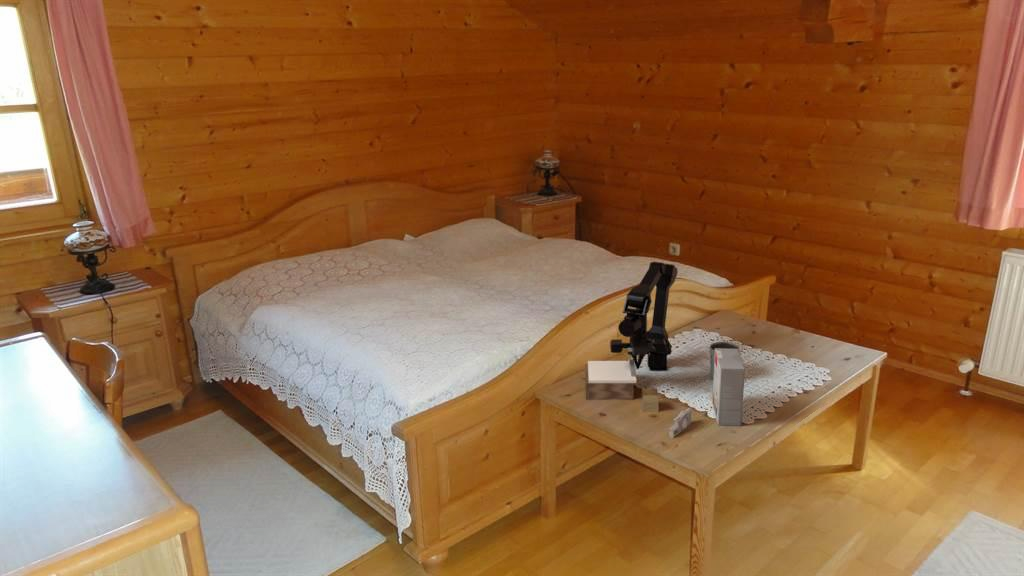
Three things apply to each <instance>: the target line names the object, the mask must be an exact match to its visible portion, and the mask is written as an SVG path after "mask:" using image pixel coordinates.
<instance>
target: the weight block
mask: <svg viewBox="0 0 1024 576" xmlns="http://www.w3.org/2000/svg"><path fill="white" fill-rule="evenodd" d="M659 401H660V395H659V390H658V388H644V387H643V388H641V408H642V412H643V413H651V412H652V413H656V412H657V413H658V412H659V408H660V407H659V406H660V405H659V404H660V403H659Z"/></svg>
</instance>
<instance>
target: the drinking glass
mask: <svg viewBox="0 0 1024 576" xmlns="http://www.w3.org/2000/svg"><path fill="white" fill-rule="evenodd" d="M715 348H726V349H738V350H739V351H740V347H739V345H737V344H735V343H731V342H728V341H726V342H725V341H717V342H714V343H711V344H710V345H709V354H710V355H709V359H710V364H709V365H710V368H709V369H710V370H709V371H710V372H709V373H710V379H711V380H712V381H714V360H715Z"/></svg>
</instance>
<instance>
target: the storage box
mask: <svg viewBox="0 0 1024 576" xmlns="http://www.w3.org/2000/svg"><path fill="white" fill-rule="evenodd" d="M584 366H585V369H584V373H585V375H584V378H585V379H584V380H585V399H586V400H610V401H611V400H612V401H613V400H617V401H618V400H620V401H621V400H630V401H631V400H632V401H633V400H634V384H635V383H589V377H588V363H585V364H584Z"/></svg>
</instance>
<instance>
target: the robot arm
mask: <svg viewBox="0 0 1024 576" xmlns="http://www.w3.org/2000/svg"><path fill="white" fill-rule="evenodd" d="M648 265H649V267H648V269H647V271H646V273H645V274H644V276H643V278H642V279H641V280H640V283H639V284H638V285H636V286H634V287H632V288H631V289H630V291H629V292H628V293H627V294H626V297H625V299H624V300H625V301H624V303H623V309H622V314H626V315H624V316H623V319H622V320H621V321H620V322H619V324H618V326H617V327H618V332H619V333H620V334H621V335H622V336H623V337H625V338H629V342H623V340H622V339H621V338H620V339H619V338H617V339H611V340H610V341H609V347H610V353H612V354H619V353H622V352H623V349H626V352H627V355H628V356H629V355H630V356H631V357H632V358H631V359H633V360H634V364H635V369H636V370H640V367H641V365H642V362H643V360H644V358H645V356H647V360H646V361H647V362H646V363H647V367H648V369H649V371H668V356H669V355H671V354H672V349H673V348H672V347H673V346H672V344H671V342H670V341H669V334H668V331H667V329H666V319H667V312H668V304H669V303H668V302H669V295H670V288H671V287H672V286H673V285H674V284H675V282H676V278H677V276H678V271H679V270H678V268H677V267H676V266H675V264H672V263H671V264H670V263H664V262H660V261H651V262H650V263H649V264H648ZM655 287H656V289H655V297H654V304H653V305H654V307H653V314H652V322H651V323H652V324H651V327H650V328H649V329H647V328H648V327H647V326H648V324H647V323H648V319H647V318H648V313H649V311H650V307H651V305H652V296H651V294H652V292H653V291H654V288H655Z"/></svg>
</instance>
